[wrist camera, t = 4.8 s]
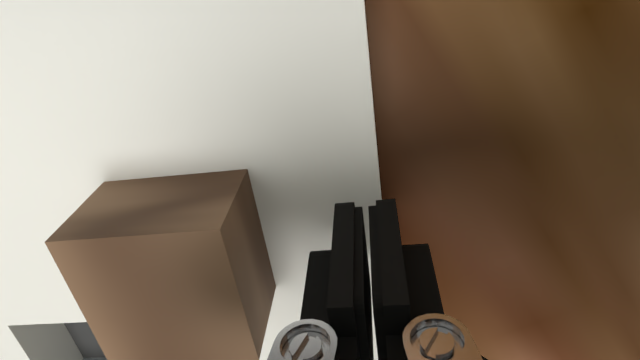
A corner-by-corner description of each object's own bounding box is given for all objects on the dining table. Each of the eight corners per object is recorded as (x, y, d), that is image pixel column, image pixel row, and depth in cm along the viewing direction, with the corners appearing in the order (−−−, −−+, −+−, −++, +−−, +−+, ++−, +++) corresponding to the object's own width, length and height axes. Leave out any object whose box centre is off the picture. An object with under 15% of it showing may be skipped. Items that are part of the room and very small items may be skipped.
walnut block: (247, 168, 13) (219, 229, 11) (276, 286, 15) (258, 360, 13) (103, 181, 14) (44, 241, 11) (150, 292, 16) (109, 365, 13)
